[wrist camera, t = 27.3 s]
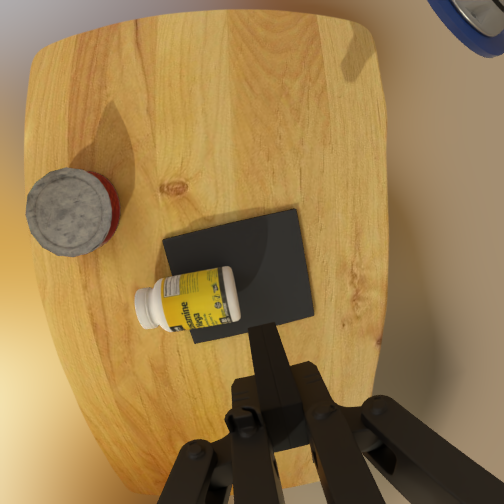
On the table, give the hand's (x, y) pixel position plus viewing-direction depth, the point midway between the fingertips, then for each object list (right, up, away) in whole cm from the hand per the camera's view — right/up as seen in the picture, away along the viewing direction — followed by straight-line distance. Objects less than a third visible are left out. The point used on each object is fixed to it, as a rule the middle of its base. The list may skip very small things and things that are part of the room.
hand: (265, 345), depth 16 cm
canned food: (-21, +10, +16) cm, 29 cm away
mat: (-2, +2, +20) cm, 20 cm away
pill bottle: (-2, +1, +16) cm, 17 cm away
